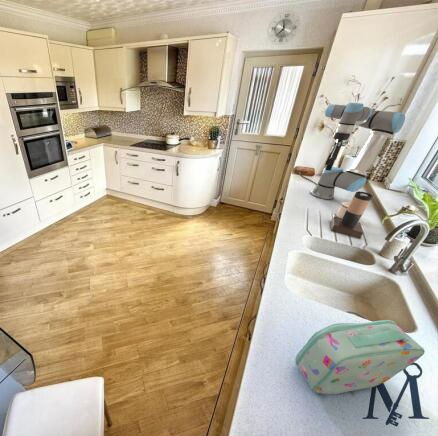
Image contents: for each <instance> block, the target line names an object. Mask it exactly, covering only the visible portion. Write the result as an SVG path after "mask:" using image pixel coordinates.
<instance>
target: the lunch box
mask: <svg viewBox="0 0 438 436" xmlns="http://www.w3.org/2000/svg"><path fill="white" fill-rule="evenodd" d="M425 351H426V350H425V348H424V347H423V346H422V345H420V344H419V343H418V342H417V341H415V339H413V338H412V337H411V336H410V335H409V334H407V333H406V332H405V330H403V329H402V328H401V327H400V326H399V325H398V324H397V322H395V321H394V320H390V319H380V320H374V321H369V322H340V323H333V324H330V325H327V326H325V327H324V328H322V329H320V330H318V331H316V332H315V333H313V335H312V336H310V338H309V339H308V341H307V342H306V343H305V345H303V347H302V348H301V349H300V350H299V352H297V354H296V356H295V359H294V360H295V365H296V366H297V367H298V369H299V371H300V372H301V374H302V375H303V377H304V379H305V380H306V382H307V384H308V386H309V387H310V389H311V391H312V392H313V393H316V394H322V395H329V396H331V395H337V394H343V393H348V392H352V391H354V392H355V391H359V390H364V389H365V390H366V389H371V388H375V387H377V386H379V385H381V384H383V383H386V382H387V381H389V380H391V379H392V378H393V377H396V375H397V374H399V373H401V372H403V371H404V370H405V369H407V368H408V367H410V366H411V365H413V364H414V363H415V362H416V361H418V360H419V359H420V358H422V356H424V354H425Z"/></svg>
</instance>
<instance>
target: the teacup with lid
mask: <svg viewBox="0 0 438 436" xmlns="http://www.w3.org/2000/svg"><path fill="white" fill-rule="evenodd" d="M351 201H352V200H350V201H346V202H345V201H343V202H341V203H340V205H339V208H338V210H337V212H336V214H335V215H336V216H335V217H339V218H343V216H344V214H345V212H346V210H347V208H348V206H349V204H350V202H351Z"/></svg>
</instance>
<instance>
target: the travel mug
mask: <svg viewBox="0 0 438 436" xmlns="http://www.w3.org/2000/svg"><path fill="white" fill-rule="evenodd" d="M373 197H374V196H373V194H371V193H368V192H366V191H359V190H358V191H356V192H354V195H353V197H352V199H351V200H350V201H351V202H350V201H349V202H350V204H349V206H348V208H347V210H346V212H345V214H344V216H343V218H342V220H341V223H342V224H343V225H345V226H348V227H355V225H356V224H357V222H359V221H360V220H361V218H362V216H363V215H364V213H365V211H366V209H367V207H368V205H369V204H370V202H371V200H372V198H373Z"/></svg>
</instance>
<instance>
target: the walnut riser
mask: <svg viewBox="0 0 438 436" xmlns="http://www.w3.org/2000/svg"><path fill="white" fill-rule="evenodd" d="M341 220H342V218H339V217H337V216H335V215H333V216H332V218H331V219H330V231H331V232H334V233H339V234H342V235H346V236H350V237H353V238H356V239H361V237H362V236H363V234H364V231H363V227H362V224H361V222H359V221H358V222H357V224H356V225H355V227H348V226H345V225H343V224H342V223H341Z"/></svg>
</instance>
